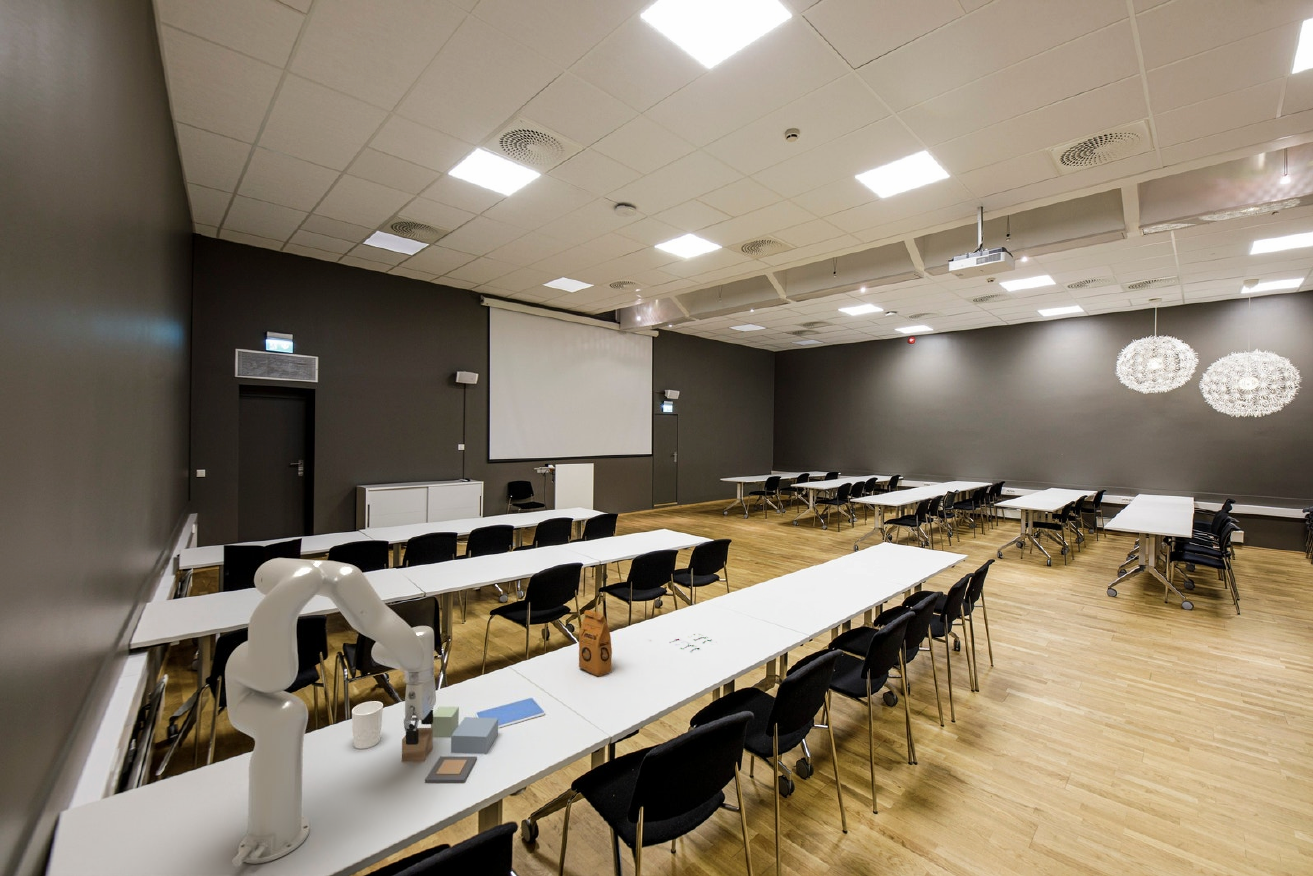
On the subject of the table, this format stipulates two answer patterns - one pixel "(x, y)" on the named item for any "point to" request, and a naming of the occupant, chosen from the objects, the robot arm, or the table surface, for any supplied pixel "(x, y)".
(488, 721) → the base block
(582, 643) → the coffee package
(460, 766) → the tile
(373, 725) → the white cup
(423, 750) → the walnut cube
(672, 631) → the table surface
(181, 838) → the table surface
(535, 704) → the tablet computer
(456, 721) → the sage cube
